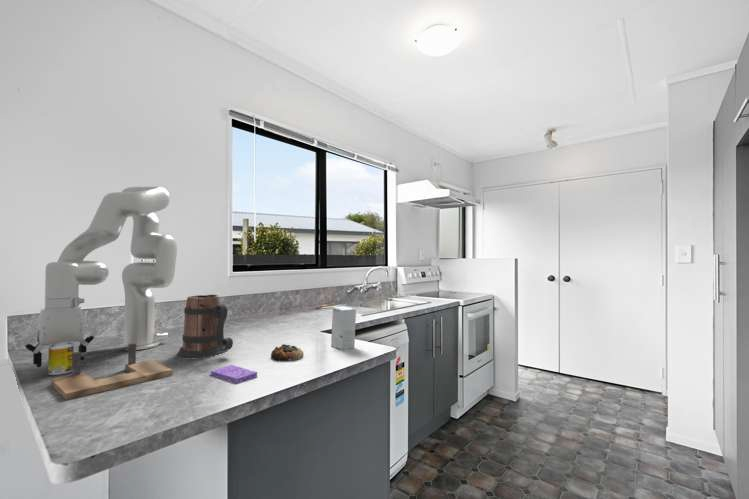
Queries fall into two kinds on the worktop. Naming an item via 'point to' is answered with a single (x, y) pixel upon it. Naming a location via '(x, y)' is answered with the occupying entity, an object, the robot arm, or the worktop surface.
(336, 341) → the skincare box
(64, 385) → the shelf board
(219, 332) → the tankard
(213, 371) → the sponges
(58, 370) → the supplement bottle
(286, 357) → the bread roll
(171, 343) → the worktop surface
